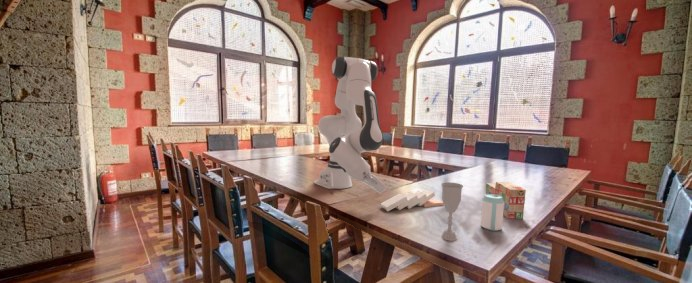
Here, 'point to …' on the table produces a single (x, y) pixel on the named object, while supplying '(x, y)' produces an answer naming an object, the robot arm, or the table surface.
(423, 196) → the domino
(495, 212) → the can
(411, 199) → the domino
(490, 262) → the table surface
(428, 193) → the domino
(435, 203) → the domino
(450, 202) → the chalice
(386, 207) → the domino
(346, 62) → the robot arm
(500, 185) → the stack of blocks
